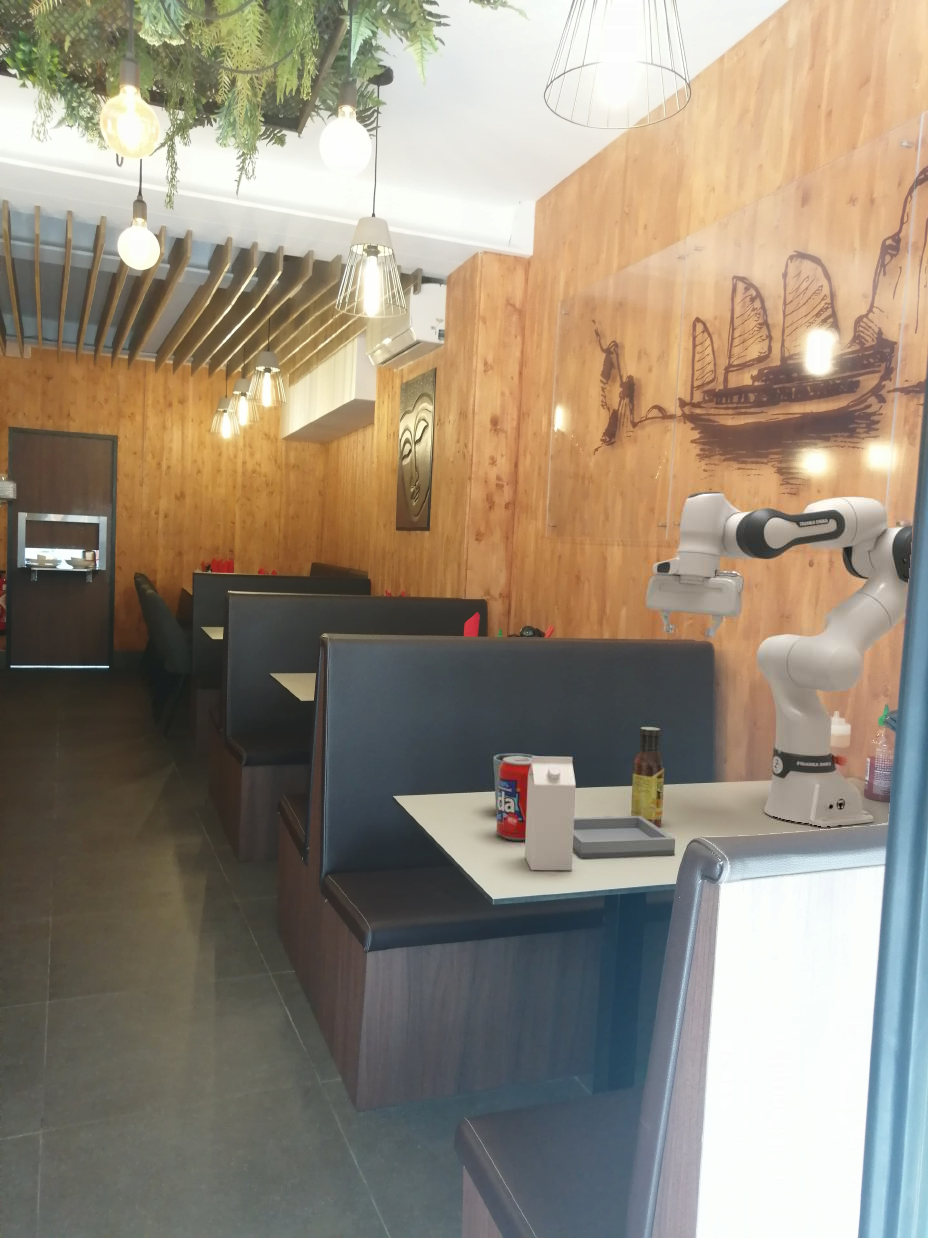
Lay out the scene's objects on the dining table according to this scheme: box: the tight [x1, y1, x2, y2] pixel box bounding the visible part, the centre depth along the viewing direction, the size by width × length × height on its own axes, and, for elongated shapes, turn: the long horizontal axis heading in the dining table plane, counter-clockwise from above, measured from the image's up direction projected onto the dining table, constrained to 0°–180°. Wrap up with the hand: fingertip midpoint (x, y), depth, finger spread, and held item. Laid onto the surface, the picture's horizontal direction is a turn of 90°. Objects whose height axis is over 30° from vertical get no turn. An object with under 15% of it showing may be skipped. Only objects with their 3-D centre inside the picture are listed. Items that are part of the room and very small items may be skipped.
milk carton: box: [524, 755, 576, 871], centre depth 154 cm, size 7×7×19 cm
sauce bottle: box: [630, 726, 665, 828], centre depth 181 cm, size 7×6×20 cm
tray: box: [573, 815, 676, 860], centre depth 168 cm, size 18×15×3 cm
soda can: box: [496, 756, 532, 842], centre depth 170 cm, size 8×8×15 cm
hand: (688, 635), depth 184 cm, fingers open, 8 cm apart
